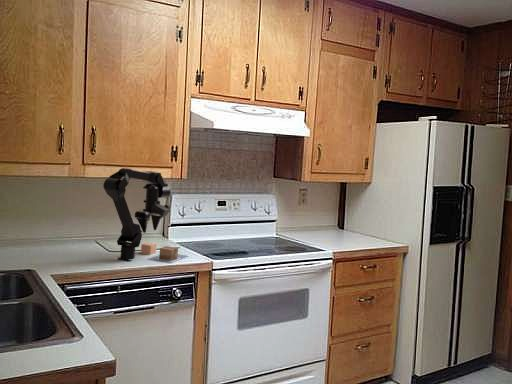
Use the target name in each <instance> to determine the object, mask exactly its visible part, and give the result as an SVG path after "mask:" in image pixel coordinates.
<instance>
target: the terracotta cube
mask: <svg viewBox="0 0 512 384" xmlns="http://www.w3.org/2000/svg"><path fill="white" fill-rule="evenodd" d="M140 244H141V245H140V254H142V255H149V256H151V255H154V254H156V253H157V243H152V242H144V243H140Z"/></svg>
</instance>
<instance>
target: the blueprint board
mask: <svg viewBox="0 0 512 384" xmlns="http://www.w3.org/2000/svg"><path fill="white" fill-rule="evenodd" d="M159 255H160V254H157V255H155V256H152V257H150V258H147V259H146V260H149V261H154V262H159V263H165V264H173V263H176V262H179V261H181V260H183V259H185V258H189V257H190V255H186V254H185V255H184V254H180V253H178V258H177V259H175V260H172V261H168V260H162V259H159Z"/></svg>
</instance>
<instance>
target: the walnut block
mask: <svg viewBox="0 0 512 384" xmlns="http://www.w3.org/2000/svg"><path fill="white" fill-rule="evenodd" d="M178 254H179V247H176V246H171V245H166V246H162V247H160V248H159V254H158V255H159V259H162V260H168V261H172V260H175V259H177V258H178Z"/></svg>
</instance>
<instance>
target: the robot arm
mask: <svg viewBox="0 0 512 384" xmlns="http://www.w3.org/2000/svg"><path fill="white" fill-rule="evenodd" d="M131 179H134V180H140V181H142V182H143V183H146V184H145V185H144V186H143V187H142V188H143V189H146V191H145V199H143V203H144V204H145V205H144V207H145V208H142V210H136V211H135V212H134V218H135V219H136V220H137V221H138V223H139V224H138V223H134V221H133V217H132V215H131V212H130V209H129V206H128V203H127V200H126V198H125V196H126V195H125V194H126V191H127V190H126V187H128V185H129V183H130V180H131ZM168 185H169V184H168V183H165V181H164V178H163V176H162V173H161V172H159V171H153V170H151V171H150V170H145V171H140V170H135V169H131V168H126V167H122V168H120V169H119V170H118V171H116V172H115V173H112V174H111V175H110V176H109V177H107V178H106V179H105V180H104V182H103V184H102V186H103V189H104V191H105V192H106V195H107V196H108V197H110V198H111V200H112V201H113V205H114V208H115V209H116V210H115V211H116V212H117V215H118V217H119V220H120V224H121V226H122V227H121V229H120V233H121V234H120V236H119V237H118V239H117V240H116V244H117V246H120V257H118V258H117V260H118V261H124V262H132V261H134V260H133V259H135V256H136V248H139V247H140V246H141V245H140V244H141V241H142V238H143V234H142V233H144V234H145V233H146V232H147V227H148V222H149V221H150V220H151V221H152V222H151V223H152V228H153V231H157V229H158V226H159V224H160V221H161V220H162V219H164V218H165V217H166V216H168V213H170V212H171V207H170V205H169V204H164V205H163V204H161V201H160V200H159V199H162V198H164V199H165V198H169V197H170V195H171V188H170V186H168Z"/></svg>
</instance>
